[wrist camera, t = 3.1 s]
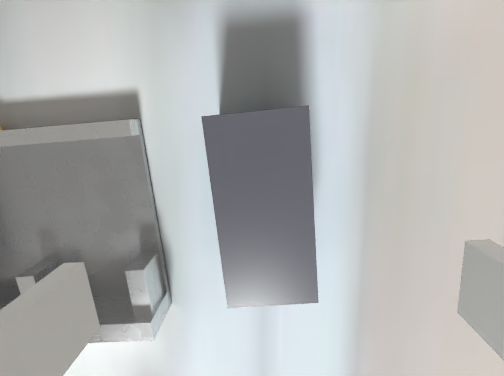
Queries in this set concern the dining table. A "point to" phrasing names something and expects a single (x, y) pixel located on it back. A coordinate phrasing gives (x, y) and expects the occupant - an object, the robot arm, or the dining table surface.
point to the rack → (84, 220)
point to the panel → (263, 205)
